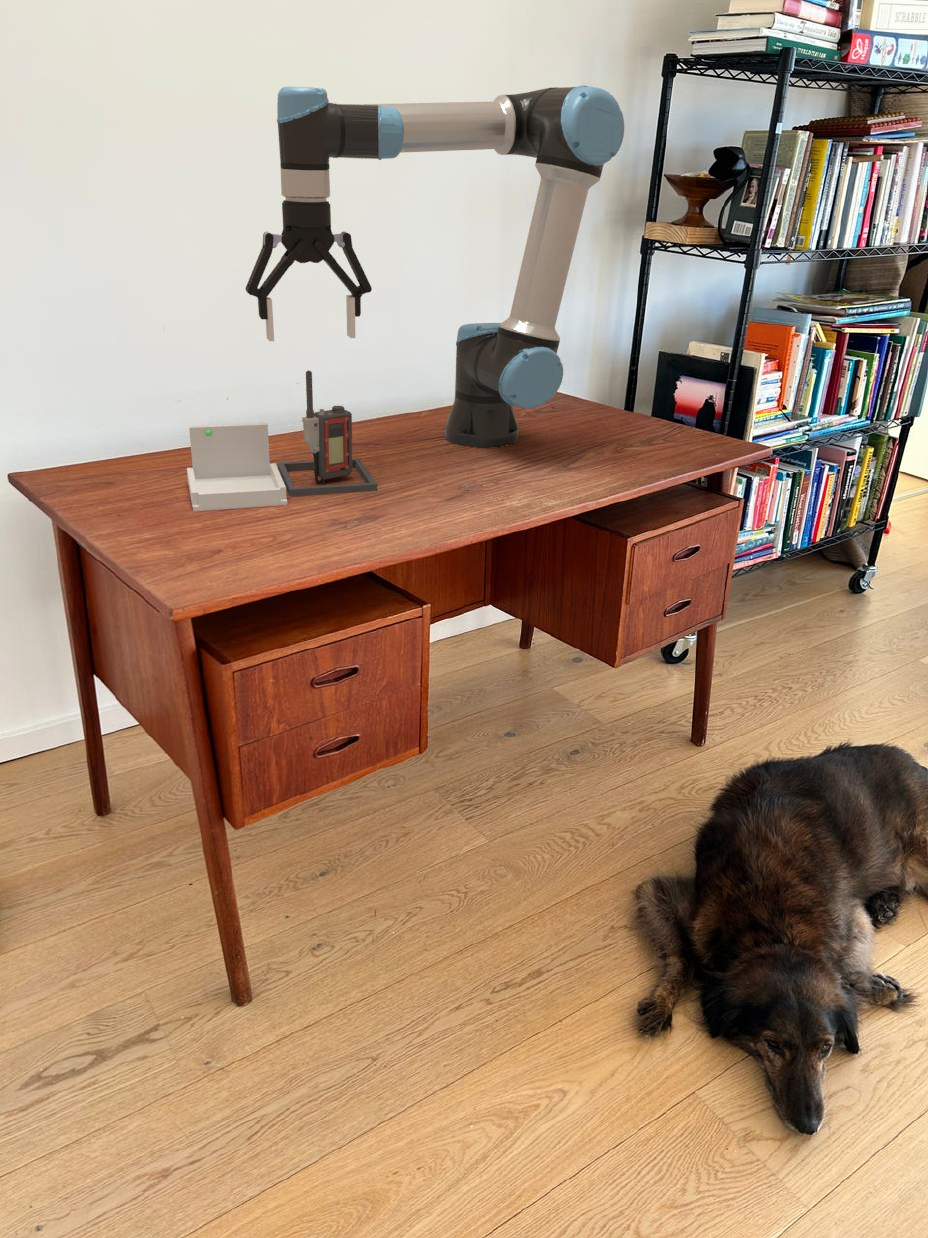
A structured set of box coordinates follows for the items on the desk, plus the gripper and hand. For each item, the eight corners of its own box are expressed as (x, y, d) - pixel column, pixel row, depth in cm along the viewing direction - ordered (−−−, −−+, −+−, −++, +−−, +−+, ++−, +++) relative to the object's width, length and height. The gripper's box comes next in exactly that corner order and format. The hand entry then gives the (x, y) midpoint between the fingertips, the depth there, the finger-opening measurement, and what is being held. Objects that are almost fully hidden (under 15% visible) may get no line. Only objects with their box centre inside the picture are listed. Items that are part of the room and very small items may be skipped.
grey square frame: (359, 466, 180) (359, 458, 179) (377, 492, 167) (377, 484, 166) (277, 470, 175) (277, 462, 175) (290, 498, 163) (289, 489, 162)
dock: (275, 477, 172) (272, 422, 167) (287, 506, 159) (285, 447, 154) (188, 482, 167) (182, 426, 163) (193, 512, 155) (188, 452, 150)
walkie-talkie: (310, 489, 167) (306, 372, 158) (298, 481, 170) (294, 367, 161) (354, 480, 172) (353, 367, 163) (341, 474, 175) (339, 362, 166)
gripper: (376, 198, 158) (377, 331, 168) (221, 196, 150) (232, 336, 160) (389, 201, 152) (389, 339, 161) (228, 200, 144) (238, 345, 153)
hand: (311, 338), depth 161 cm, fingers open, 13 cm apart
